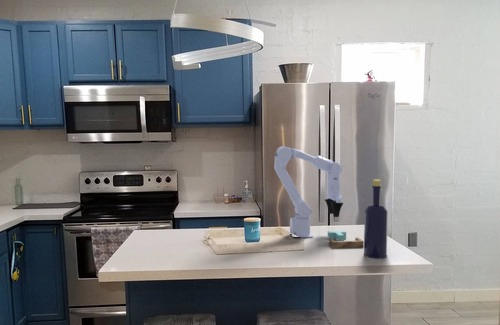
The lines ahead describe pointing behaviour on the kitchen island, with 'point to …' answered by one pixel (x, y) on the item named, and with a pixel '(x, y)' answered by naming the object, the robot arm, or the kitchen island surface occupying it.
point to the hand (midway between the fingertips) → (333, 215)
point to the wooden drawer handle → (346, 243)
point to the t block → (337, 235)
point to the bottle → (375, 226)
